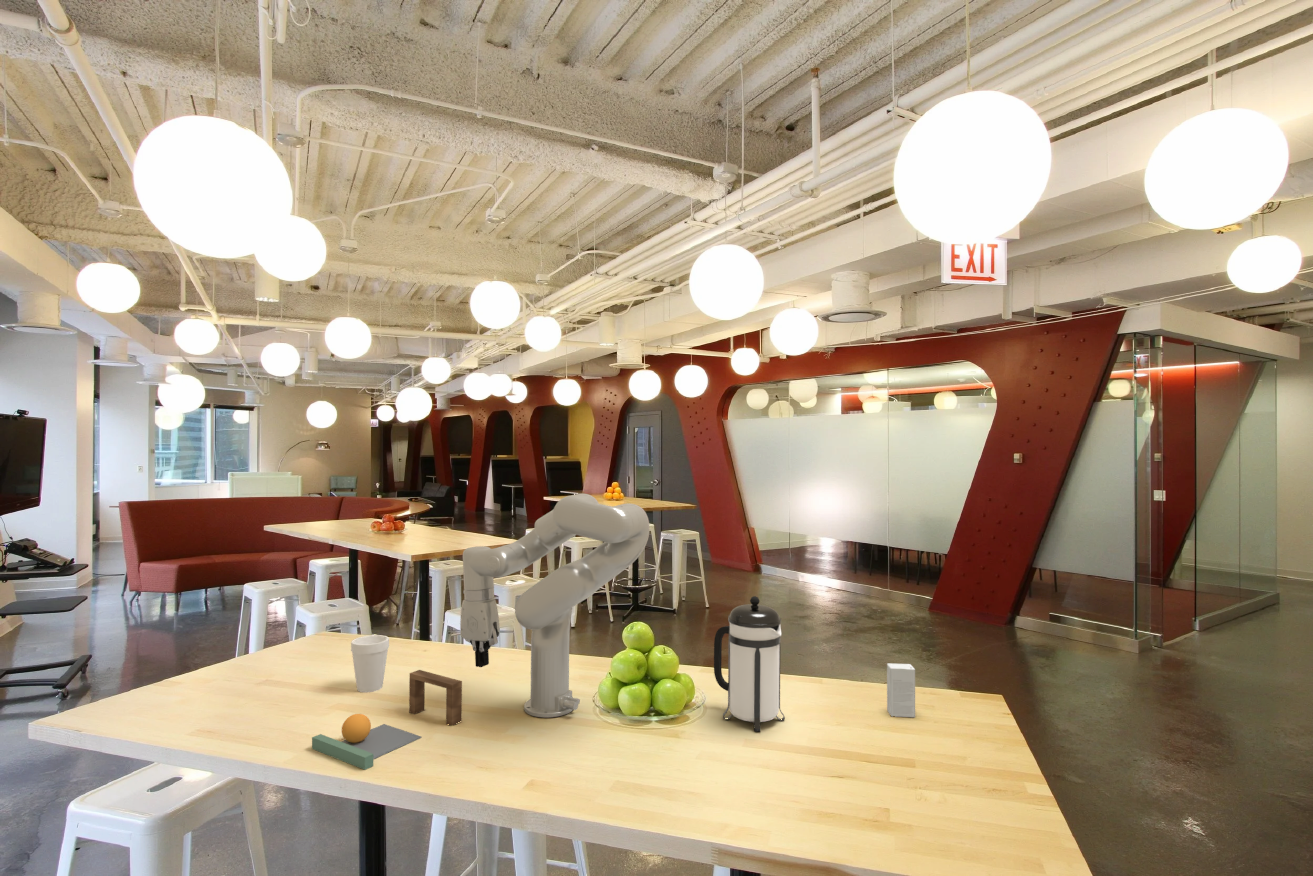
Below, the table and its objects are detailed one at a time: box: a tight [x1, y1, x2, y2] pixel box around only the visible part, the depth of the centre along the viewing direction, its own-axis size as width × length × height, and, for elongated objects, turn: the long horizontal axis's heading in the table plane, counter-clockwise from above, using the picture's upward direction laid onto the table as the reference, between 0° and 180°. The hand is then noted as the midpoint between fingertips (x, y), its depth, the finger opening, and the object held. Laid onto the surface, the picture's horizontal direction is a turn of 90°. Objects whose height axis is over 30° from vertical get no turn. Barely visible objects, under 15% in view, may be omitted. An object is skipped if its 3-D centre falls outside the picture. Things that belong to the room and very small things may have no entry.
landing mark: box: [340, 723, 422, 760], centre depth 154 cm, size 13×13×1 cm
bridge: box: [408, 669, 463, 726], centre depth 168 cm, size 3×15×10 cm, turn 59°
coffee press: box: [713, 595, 786, 733], centre depth 169 cm, size 17×16×30 cm
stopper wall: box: [311, 733, 374, 771], centre depth 147 cm, size 18×2×2 cm, turn 59°
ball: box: [341, 713, 372, 743], centre depth 154 cm, size 6×6×6 cm
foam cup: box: [350, 634, 390, 693], centre depth 187 cm, size 10×9×13 cm
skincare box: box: [886, 662, 916, 718], centre depth 173 cm, size 6×4×12 cm
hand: (482, 665), depth 180 cm, fingers closed
